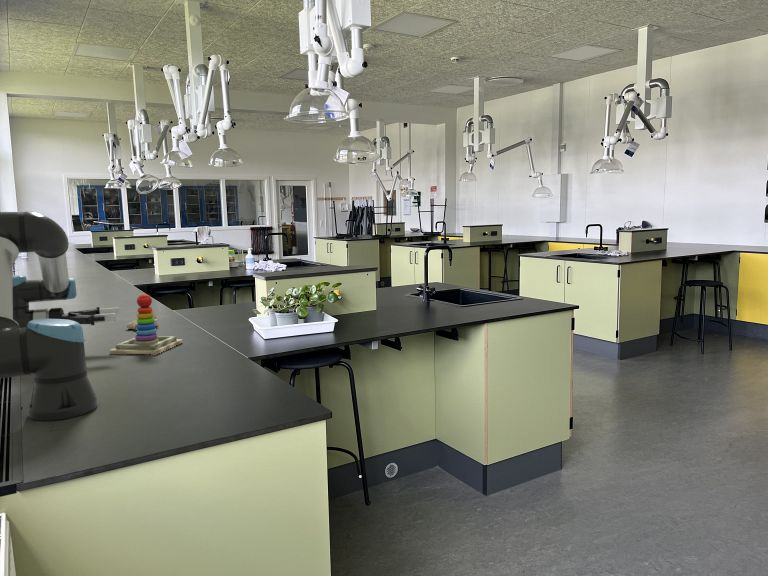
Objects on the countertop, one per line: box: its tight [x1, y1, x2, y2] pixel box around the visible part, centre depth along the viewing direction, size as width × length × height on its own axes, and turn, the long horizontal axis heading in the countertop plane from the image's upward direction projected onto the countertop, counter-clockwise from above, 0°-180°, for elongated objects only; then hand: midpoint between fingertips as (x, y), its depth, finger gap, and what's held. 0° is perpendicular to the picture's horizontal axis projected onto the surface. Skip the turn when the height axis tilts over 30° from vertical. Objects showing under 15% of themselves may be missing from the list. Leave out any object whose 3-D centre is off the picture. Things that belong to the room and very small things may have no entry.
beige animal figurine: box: [126, 309, 159, 331], centre depth 242 cm, size 8×12×10 cm
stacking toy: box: [134, 293, 159, 345], centre depth 204 cm, size 8×8×19 cm
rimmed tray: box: [108, 335, 183, 356], centre depth 205 cm, size 18×18×3 cm
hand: (117, 314), depth 200 cm, fingers open, 13 cm apart
